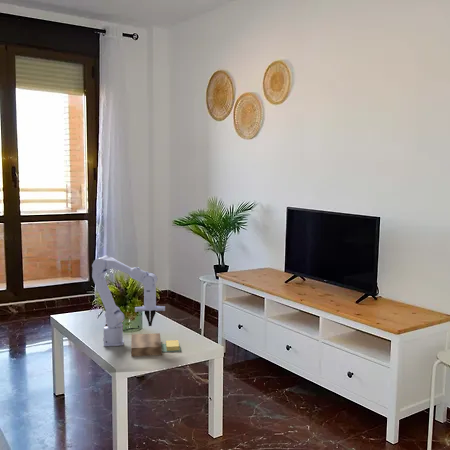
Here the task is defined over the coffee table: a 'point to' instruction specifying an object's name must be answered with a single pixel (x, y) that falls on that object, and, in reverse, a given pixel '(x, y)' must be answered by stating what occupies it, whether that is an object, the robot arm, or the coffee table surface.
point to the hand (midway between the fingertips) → (150, 325)
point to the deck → (146, 344)
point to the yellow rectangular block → (172, 345)
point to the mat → (169, 351)
